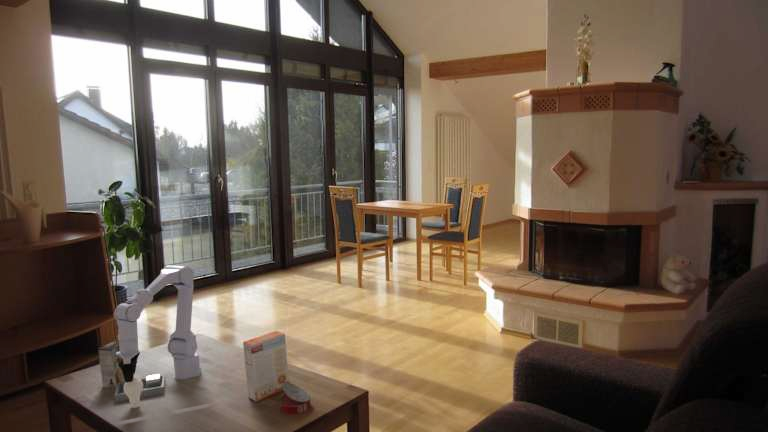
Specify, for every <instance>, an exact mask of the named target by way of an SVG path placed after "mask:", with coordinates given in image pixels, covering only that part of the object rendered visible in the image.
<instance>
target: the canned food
mask: <svg viewBox="0 0 768 432" xmlns="http://www.w3.org/2000/svg"><path fill="white" fill-rule="evenodd" d="M283 392H284V394H285V395H284V396H282V397H281V398H280V400H279V401H280V410H281V412H282V413H284V414H286V415H298V414H302V413H304V412H307V411H308V410H309V409H310V408H309V407H311V397H310V395H309V393H308V392H307V391H305V390H304V389H303V388H301V387H300V386H298V385H295V383H291V382H290V381H289V382H288V381H285V382H283Z"/></svg>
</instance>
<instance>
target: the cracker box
mask: <svg viewBox="0 0 768 432" xmlns="http://www.w3.org/2000/svg"><path fill="white" fill-rule="evenodd" d="M242 343H243V344H242V345H243V346H242V347H243V355H244V367H245V377H246V378H245V379H246V384H247V385H246V388H247V397H248V398H249V399H250V400H251V401H252V400H253V401H254V402H255V403H258V402H260V401H263V400H264V399H267V398H270V397H271V396H274V395H277V394H279V393H281V392H284V390H283V382H285V381H288V382H290V381H289V380H290V379H289V369H288V368H289V366H288V357H287V355H288V354H287V343H286V334H285V333H284V332H281V331H278V330H275V331H272V332H269V333H266V334H263V335H259V336H257V337H254V338H251V339H248V340H245V341H243V342H242Z"/></svg>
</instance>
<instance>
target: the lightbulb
mask: <svg viewBox="0 0 768 432" xmlns="http://www.w3.org/2000/svg"><path fill="white" fill-rule="evenodd" d="M140 379H141V378H139V377H133V381H132V382H125V384H124V387H123V390H124V393H125V394H126V395H127V396H128V398H129V400H128V401H129V403H130V406H131V408H132V409H136V408H139V407H140V400H141V398H140V394H141V392H142V389H143V383H142V381H141V380H140Z"/></svg>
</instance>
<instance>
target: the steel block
mask: <svg viewBox="0 0 768 432" xmlns="http://www.w3.org/2000/svg"><path fill="white" fill-rule="evenodd" d="M160 375H161V373H155V374H151V375H146V377H145V378H146V385H147V389H149V388H154V387H160V386H161V377H160Z"/></svg>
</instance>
